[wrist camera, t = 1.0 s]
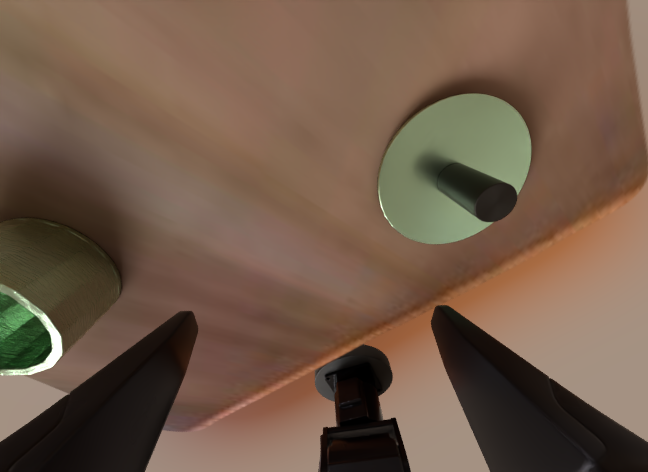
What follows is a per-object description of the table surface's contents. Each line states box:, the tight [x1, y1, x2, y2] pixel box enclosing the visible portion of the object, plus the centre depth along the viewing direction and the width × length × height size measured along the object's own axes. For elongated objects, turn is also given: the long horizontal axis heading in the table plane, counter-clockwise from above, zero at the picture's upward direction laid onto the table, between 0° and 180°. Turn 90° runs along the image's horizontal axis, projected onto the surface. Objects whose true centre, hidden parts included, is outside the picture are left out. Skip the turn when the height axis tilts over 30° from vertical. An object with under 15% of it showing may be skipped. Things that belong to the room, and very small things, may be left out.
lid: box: [377, 93, 532, 244], centre depth 17 cm, size 11×11×6 cm
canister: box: [0, 218, 121, 375], centre depth 20 cm, size 10×10×6 cm
